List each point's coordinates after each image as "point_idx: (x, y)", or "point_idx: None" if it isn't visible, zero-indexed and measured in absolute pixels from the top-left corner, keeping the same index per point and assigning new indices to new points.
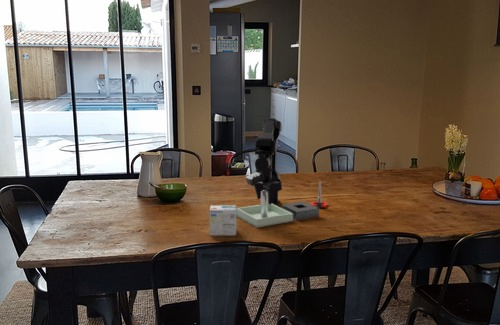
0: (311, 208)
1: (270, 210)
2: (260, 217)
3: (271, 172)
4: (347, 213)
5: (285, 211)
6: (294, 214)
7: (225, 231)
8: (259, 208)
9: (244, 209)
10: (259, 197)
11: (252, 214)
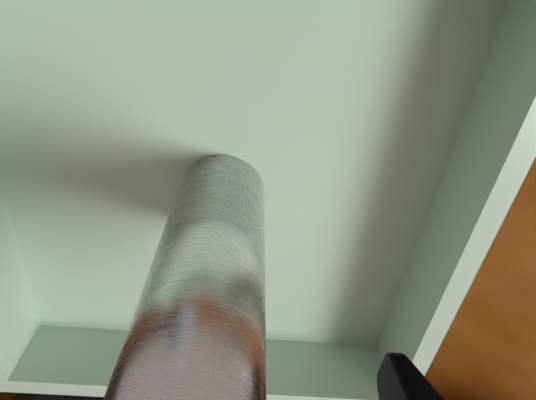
0: None
1: (359, 339)
2: (235, 155)
3: None
4: None
5: (102, 381)
6: (53, 395)
7: None
8: (422, 282)
9: (515, 94)
10: (385, 392)
11: (387, 145)
